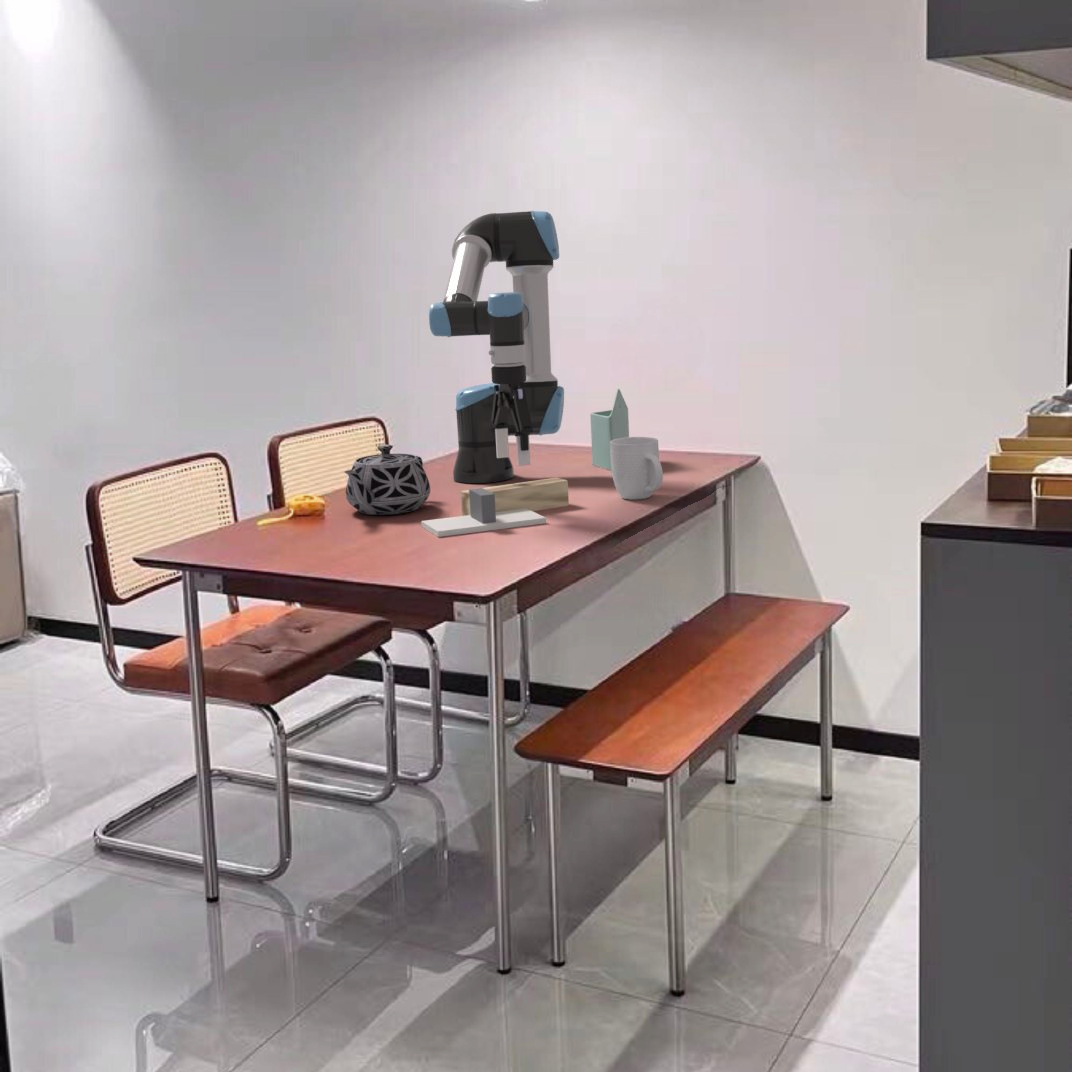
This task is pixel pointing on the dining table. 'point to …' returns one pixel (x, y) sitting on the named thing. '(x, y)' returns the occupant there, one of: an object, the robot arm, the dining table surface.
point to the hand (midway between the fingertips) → (513, 461)
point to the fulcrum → (482, 517)
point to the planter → (608, 430)
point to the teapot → (387, 483)
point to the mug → (635, 466)
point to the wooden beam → (525, 495)
